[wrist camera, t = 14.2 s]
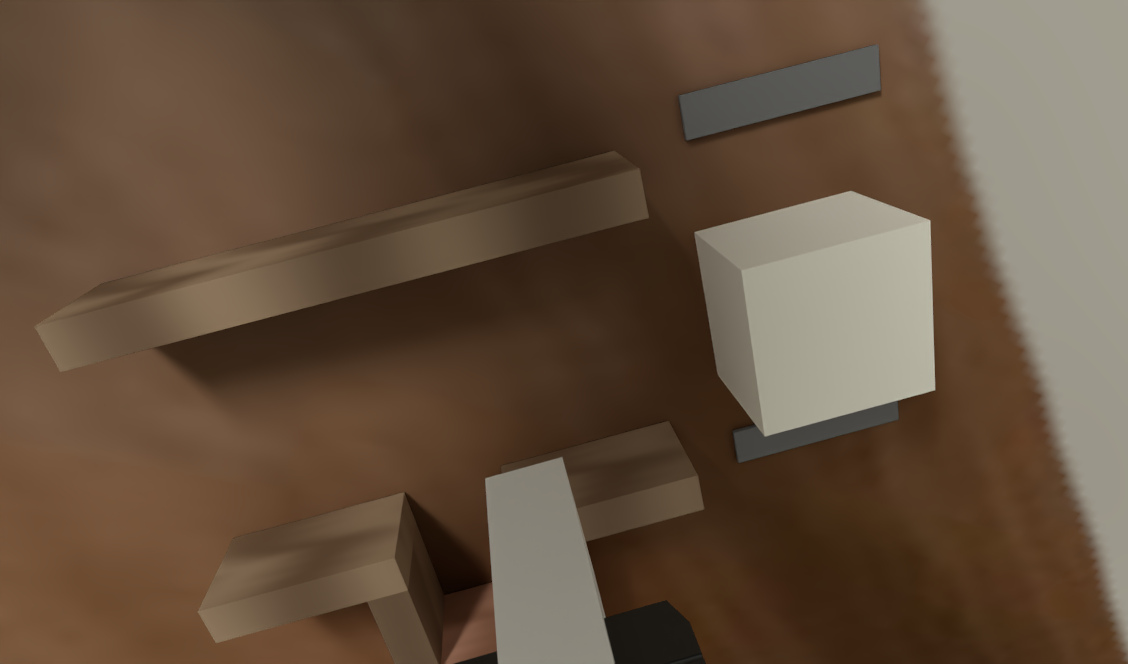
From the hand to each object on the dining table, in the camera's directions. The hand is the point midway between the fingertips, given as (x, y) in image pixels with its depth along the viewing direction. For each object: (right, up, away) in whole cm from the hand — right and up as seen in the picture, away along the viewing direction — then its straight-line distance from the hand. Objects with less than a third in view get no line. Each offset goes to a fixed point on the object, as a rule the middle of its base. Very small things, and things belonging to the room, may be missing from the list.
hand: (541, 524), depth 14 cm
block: (+9, +6, +14) cm, 17 cm away
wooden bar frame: (-4, 0, +14) cm, 15 cm away
